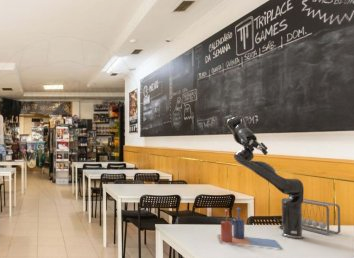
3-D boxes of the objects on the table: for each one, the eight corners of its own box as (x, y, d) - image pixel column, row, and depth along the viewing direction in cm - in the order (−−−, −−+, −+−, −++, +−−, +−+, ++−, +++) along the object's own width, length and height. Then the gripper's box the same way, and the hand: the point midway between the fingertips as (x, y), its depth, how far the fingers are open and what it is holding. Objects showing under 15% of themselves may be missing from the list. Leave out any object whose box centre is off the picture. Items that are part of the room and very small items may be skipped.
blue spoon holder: (232, 235, 192) (232, 206, 193) (243, 236, 190) (243, 206, 191) (233, 238, 187) (233, 207, 188) (245, 239, 185) (244, 208, 186)
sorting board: (218, 235, 195) (218, 234, 195) (274, 241, 185) (274, 239, 185) (220, 243, 180) (220, 241, 180) (281, 249, 170) (281, 248, 170)
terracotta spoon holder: (220, 238, 185) (220, 208, 186) (231, 240, 184) (231, 208, 184) (221, 241, 180) (221, 209, 181) (232, 242, 178) (232, 210, 179)
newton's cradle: (340, 234, 201) (340, 204, 202) (328, 235, 198) (327, 205, 199) (293, 223, 230) (292, 196, 230) (281, 224, 226) (281, 197, 227)
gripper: (253, 143, 209) (266, 159, 195) (233, 138, 207) (244, 154, 193) (260, 134, 205) (274, 149, 191) (239, 128, 203) (252, 144, 189)
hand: (259, 152), depth 192 cm, fingers open, 8 cm apart
